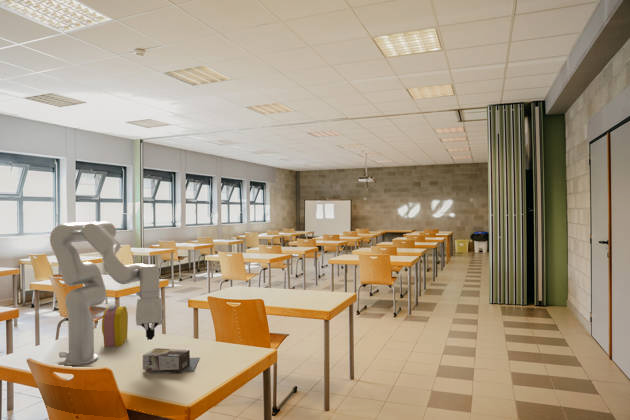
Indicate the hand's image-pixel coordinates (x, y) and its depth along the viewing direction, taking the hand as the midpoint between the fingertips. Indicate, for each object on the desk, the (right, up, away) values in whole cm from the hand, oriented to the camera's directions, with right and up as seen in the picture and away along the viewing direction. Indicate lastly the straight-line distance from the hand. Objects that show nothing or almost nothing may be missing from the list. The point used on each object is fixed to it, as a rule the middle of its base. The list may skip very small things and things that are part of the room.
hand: (150, 338), depth 173 cm
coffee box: (0, -8, -1) cm, 8 cm away
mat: (+10, -12, +1) cm, 15 cm away
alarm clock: (-30, -12, +32) cm, 46 cm away
